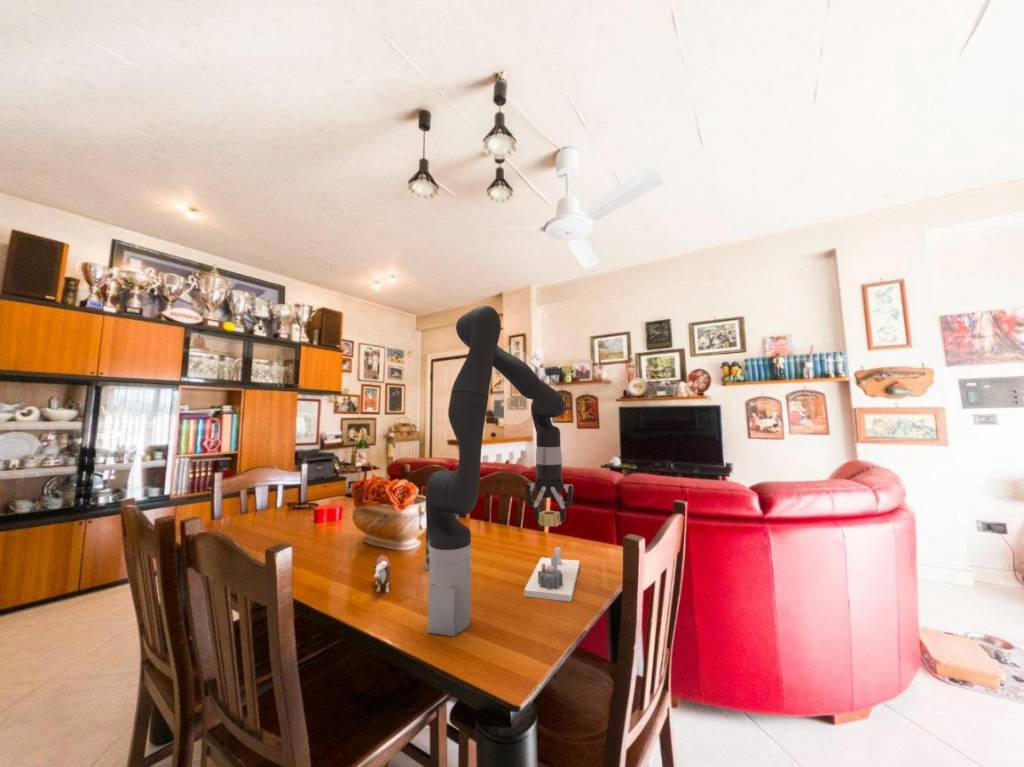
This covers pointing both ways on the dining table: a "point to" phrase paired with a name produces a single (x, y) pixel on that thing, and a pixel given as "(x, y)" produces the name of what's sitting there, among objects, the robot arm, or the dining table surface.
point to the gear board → (554, 593)
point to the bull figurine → (382, 572)
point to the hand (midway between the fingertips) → (549, 520)
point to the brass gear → (549, 518)
